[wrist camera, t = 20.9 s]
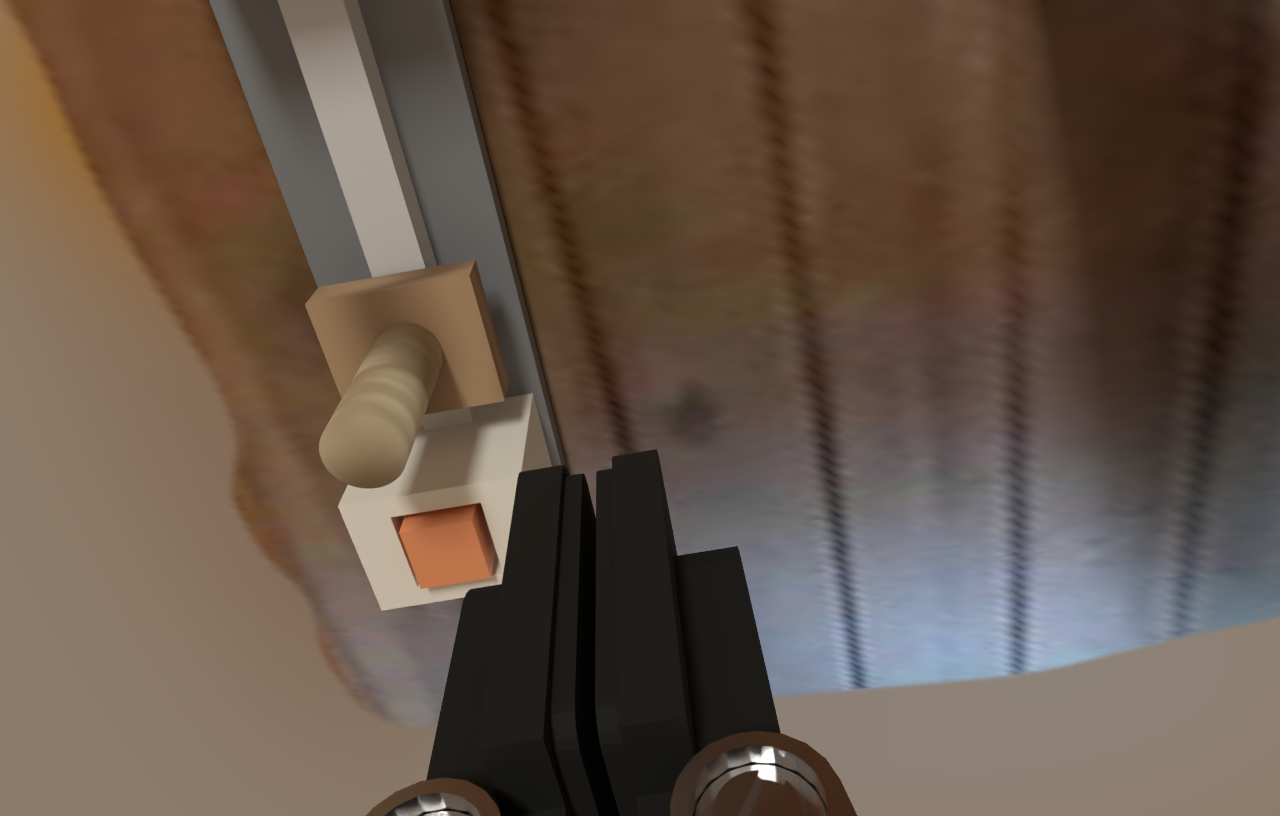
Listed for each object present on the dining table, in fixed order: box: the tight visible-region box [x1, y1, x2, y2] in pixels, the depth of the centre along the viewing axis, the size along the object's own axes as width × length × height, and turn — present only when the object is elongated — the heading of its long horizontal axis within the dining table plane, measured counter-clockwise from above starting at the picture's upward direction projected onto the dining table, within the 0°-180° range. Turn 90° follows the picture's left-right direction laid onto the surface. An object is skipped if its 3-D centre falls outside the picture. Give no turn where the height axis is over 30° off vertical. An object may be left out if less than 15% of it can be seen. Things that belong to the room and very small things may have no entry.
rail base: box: [209, 0, 567, 610], centre depth 35 cm, size 9×36×9 cm, turn 10°
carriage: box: [305, 259, 509, 489], centre depth 34 cm, size 7×6×10 cm
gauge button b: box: [399, 503, 496, 589], centre depth 39 cm, size 3×3×4 cm
